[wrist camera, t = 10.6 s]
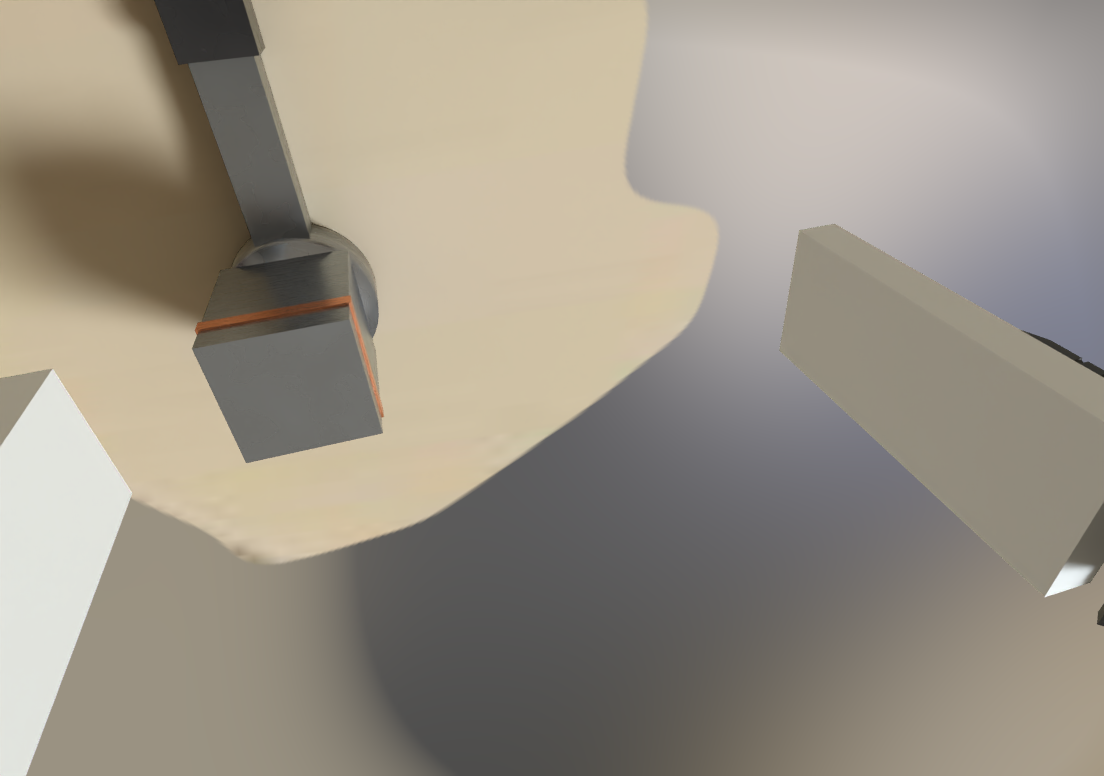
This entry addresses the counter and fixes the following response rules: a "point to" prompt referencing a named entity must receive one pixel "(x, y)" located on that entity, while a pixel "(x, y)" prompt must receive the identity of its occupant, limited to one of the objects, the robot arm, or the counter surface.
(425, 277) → the counter surface
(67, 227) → the counter surface
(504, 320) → the counter surface
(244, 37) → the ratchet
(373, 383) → the orange-striped grey cube
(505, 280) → the counter surface
